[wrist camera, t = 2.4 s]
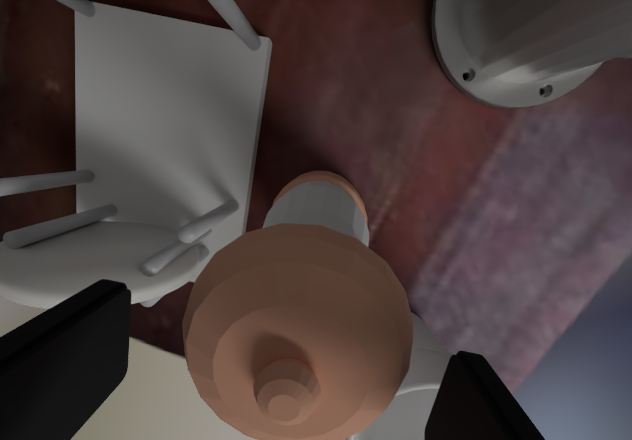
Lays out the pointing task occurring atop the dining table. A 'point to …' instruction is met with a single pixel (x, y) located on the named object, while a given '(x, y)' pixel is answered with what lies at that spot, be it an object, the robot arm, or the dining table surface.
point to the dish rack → (146, 156)
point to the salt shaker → (300, 320)
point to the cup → (412, 390)
